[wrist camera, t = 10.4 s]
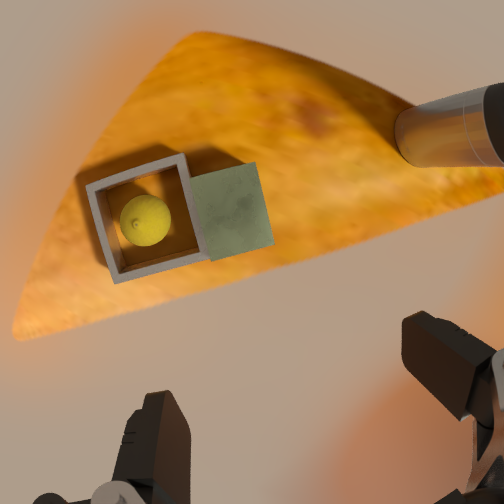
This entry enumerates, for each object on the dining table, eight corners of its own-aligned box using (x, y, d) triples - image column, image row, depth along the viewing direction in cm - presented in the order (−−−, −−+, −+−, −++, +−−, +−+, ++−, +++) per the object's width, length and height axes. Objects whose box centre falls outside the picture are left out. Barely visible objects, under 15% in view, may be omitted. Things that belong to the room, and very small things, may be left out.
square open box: (243, 141, 34) (248, 134, 29) (266, 237, 36) (274, 244, 32) (96, 185, 32) (80, 185, 27) (122, 276, 35) (110, 288, 30)
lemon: (123, 215, 33) (99, 222, 26) (155, 184, 33) (139, 183, 26) (151, 248, 35) (135, 264, 27) (184, 219, 35) (176, 227, 27)
